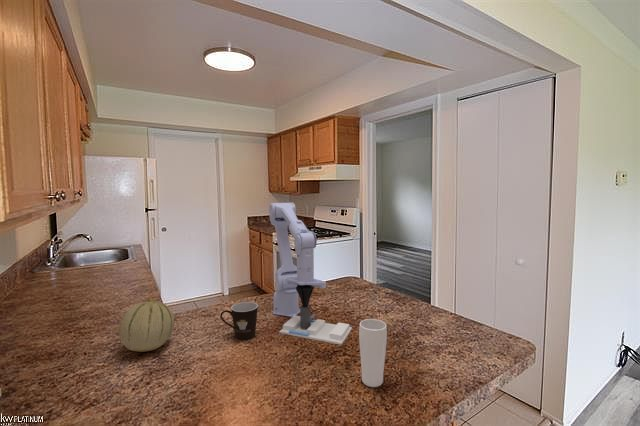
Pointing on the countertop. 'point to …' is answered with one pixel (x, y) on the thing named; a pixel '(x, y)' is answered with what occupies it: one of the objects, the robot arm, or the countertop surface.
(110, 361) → the countertop surface
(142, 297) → the countertop surface
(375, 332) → the drinking glass
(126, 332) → the cantaloupe
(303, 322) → the dark grey rounded piece
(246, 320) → the coffee mug
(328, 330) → the white slotted board
